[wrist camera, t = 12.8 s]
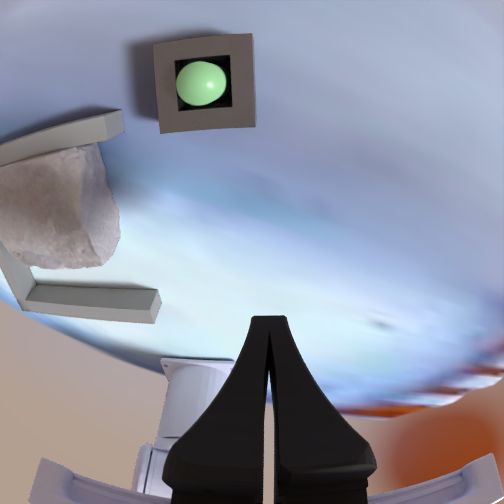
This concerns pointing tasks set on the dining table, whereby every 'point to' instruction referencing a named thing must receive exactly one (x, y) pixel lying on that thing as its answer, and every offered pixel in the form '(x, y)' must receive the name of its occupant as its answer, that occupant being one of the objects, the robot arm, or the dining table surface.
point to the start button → (202, 83)
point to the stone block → (59, 209)
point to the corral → (63, 297)
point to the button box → (210, 115)
